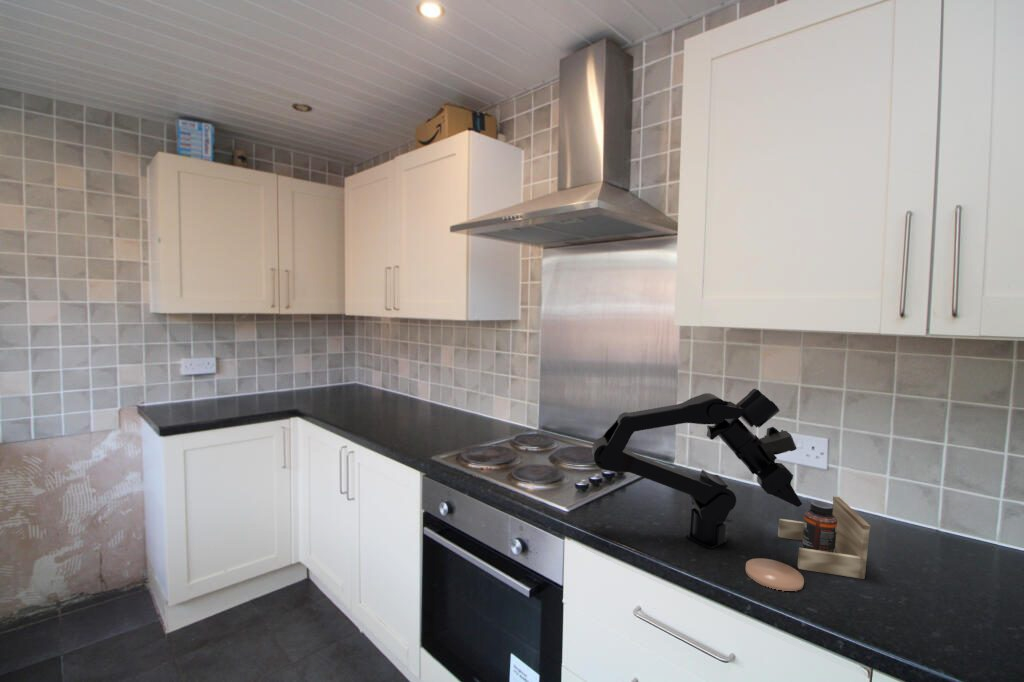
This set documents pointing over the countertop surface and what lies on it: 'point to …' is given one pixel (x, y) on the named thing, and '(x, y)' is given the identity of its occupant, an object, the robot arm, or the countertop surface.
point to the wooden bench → (848, 545)
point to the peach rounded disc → (774, 574)
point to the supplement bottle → (820, 527)
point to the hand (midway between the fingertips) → (792, 496)
